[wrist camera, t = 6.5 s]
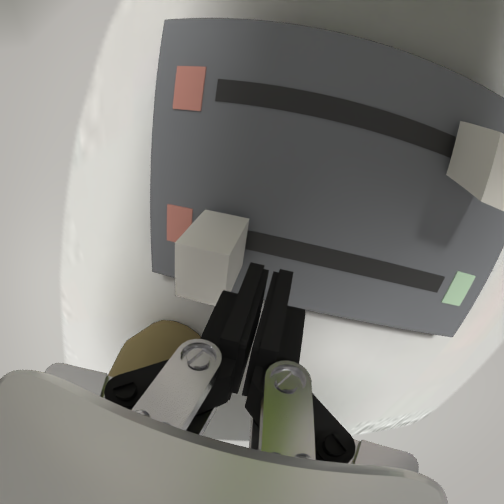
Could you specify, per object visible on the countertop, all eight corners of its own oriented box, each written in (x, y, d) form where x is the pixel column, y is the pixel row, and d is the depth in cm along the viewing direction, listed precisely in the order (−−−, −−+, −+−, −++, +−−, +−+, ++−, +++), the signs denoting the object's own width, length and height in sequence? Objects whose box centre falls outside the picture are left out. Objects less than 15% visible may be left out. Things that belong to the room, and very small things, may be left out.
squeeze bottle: (125, 328, 27) (28, 478, 12) (171, 293, 23) (48, 496, 8) (184, 378, 29) (118, 529, 14) (239, 356, 25) (172, 553, 10)
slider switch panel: (180, 25, 14) (163, 19, 12) (524, 118, 11) (542, 124, 9) (164, 257, 22) (151, 272, 20) (445, 319, 19) (452, 338, 18)
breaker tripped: (205, 209, 16) (174, 242, 13) (249, 218, 16) (229, 255, 13) (201, 255, 18) (175, 295, 15) (242, 265, 18) (223, 308, 14)
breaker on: (460, 120, 11) (501, 132, 8) (495, 138, 11) (538, 155, 7) (445, 174, 13) (480, 201, 9) (481, 189, 12) (518, 218, 9)
